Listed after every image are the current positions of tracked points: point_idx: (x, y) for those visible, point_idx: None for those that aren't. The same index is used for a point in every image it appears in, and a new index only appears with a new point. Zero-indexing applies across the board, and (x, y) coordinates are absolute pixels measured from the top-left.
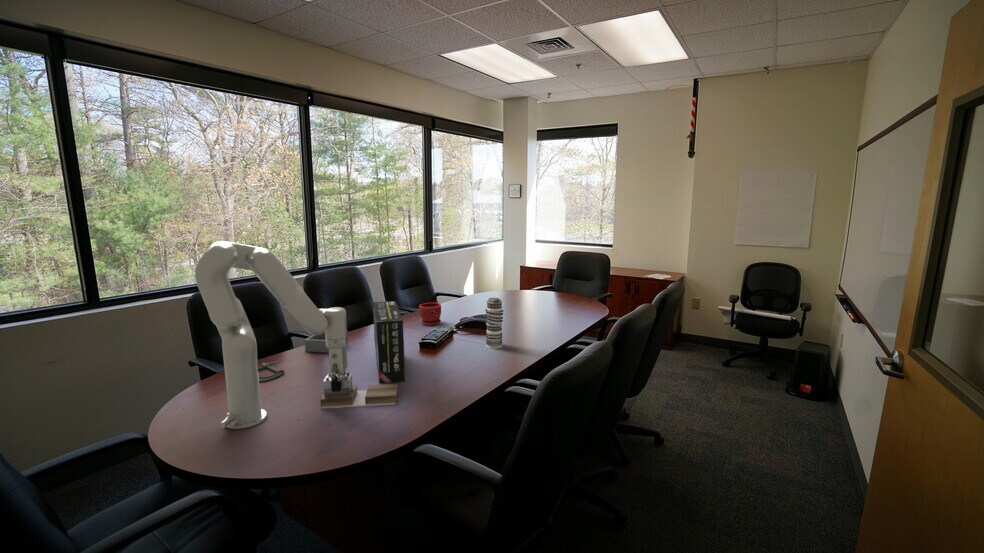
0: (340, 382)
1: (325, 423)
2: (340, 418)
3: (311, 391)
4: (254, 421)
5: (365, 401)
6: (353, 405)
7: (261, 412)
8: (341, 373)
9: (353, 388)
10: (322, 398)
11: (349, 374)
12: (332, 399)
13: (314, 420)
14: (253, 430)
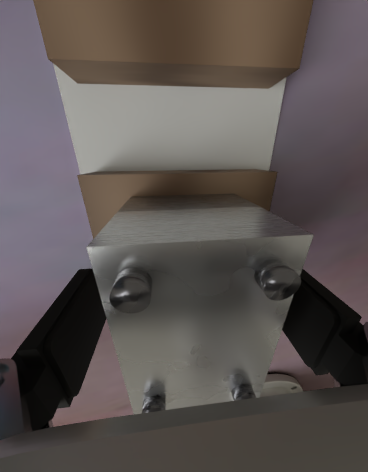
0: (331, 299)
1: (363, 242)
2: (353, 198)
3: (98, 344)
4: (290, 387)
5: (278, 79)
6: (266, 161)
7: (262, 395)
8: (74, 344)
9: (131, 190)
10: None
11: (133, 269)
12: None
13: (324, 278)
14: (312, 371)
